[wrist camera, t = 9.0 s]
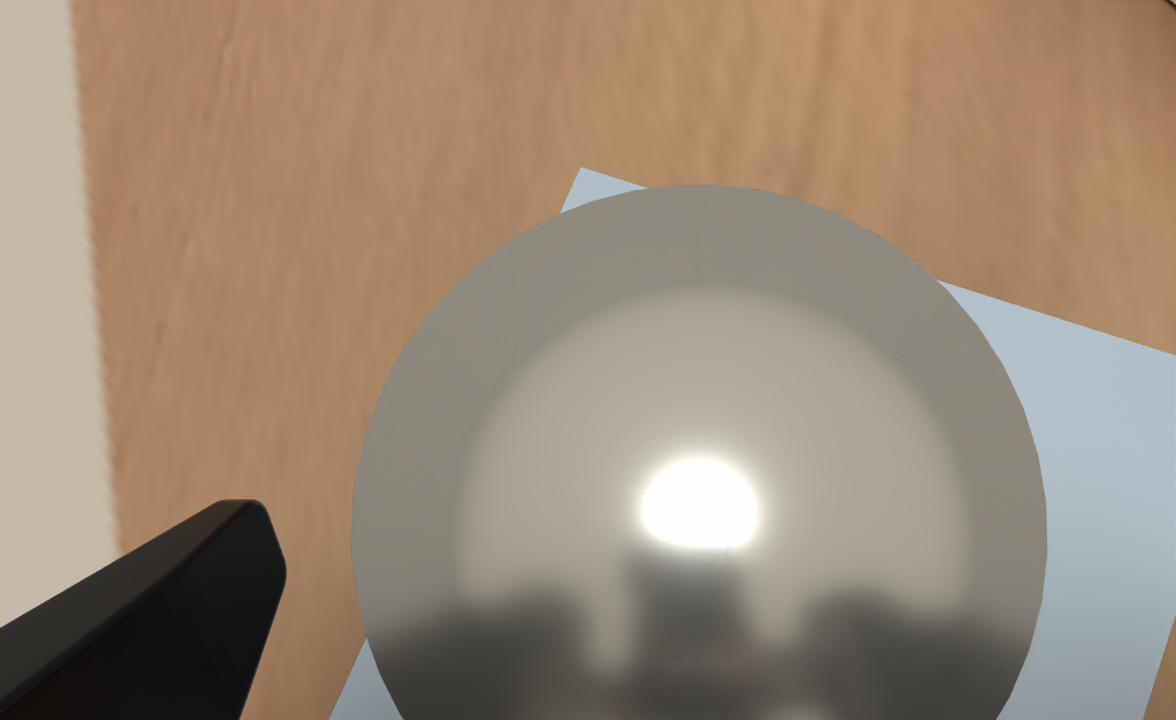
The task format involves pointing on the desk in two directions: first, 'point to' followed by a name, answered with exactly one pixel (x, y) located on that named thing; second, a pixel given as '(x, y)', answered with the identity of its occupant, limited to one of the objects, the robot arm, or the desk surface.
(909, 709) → the silver tall cylinder
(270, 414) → the desk surface
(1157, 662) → the bracket block
